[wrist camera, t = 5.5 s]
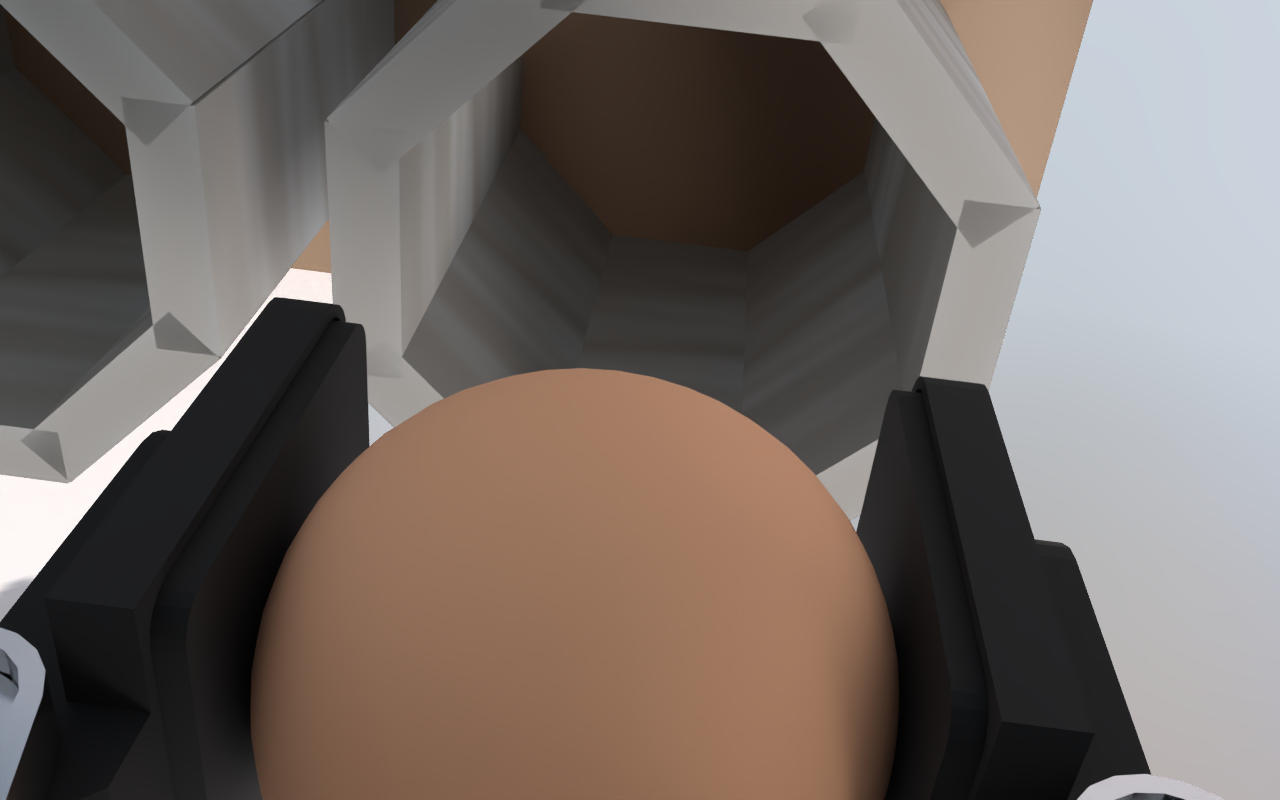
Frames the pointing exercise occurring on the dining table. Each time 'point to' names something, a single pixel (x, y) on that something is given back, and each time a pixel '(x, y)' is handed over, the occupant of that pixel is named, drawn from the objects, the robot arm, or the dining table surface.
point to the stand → (522, 199)
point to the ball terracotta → (575, 611)
